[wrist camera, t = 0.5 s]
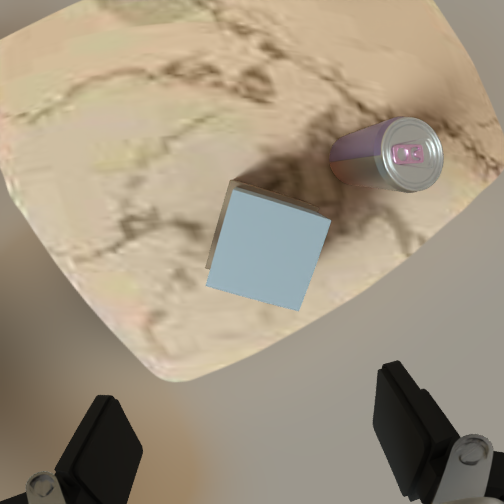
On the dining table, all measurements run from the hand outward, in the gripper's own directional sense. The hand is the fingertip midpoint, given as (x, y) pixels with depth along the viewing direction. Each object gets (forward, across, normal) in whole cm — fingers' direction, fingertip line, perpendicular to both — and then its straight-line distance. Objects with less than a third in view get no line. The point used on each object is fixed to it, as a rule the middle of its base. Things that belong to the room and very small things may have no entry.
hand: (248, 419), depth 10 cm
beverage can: (+28, -14, -8) cm, 32 cm away
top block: (+22, -2, -2) cm, 22 cm away
